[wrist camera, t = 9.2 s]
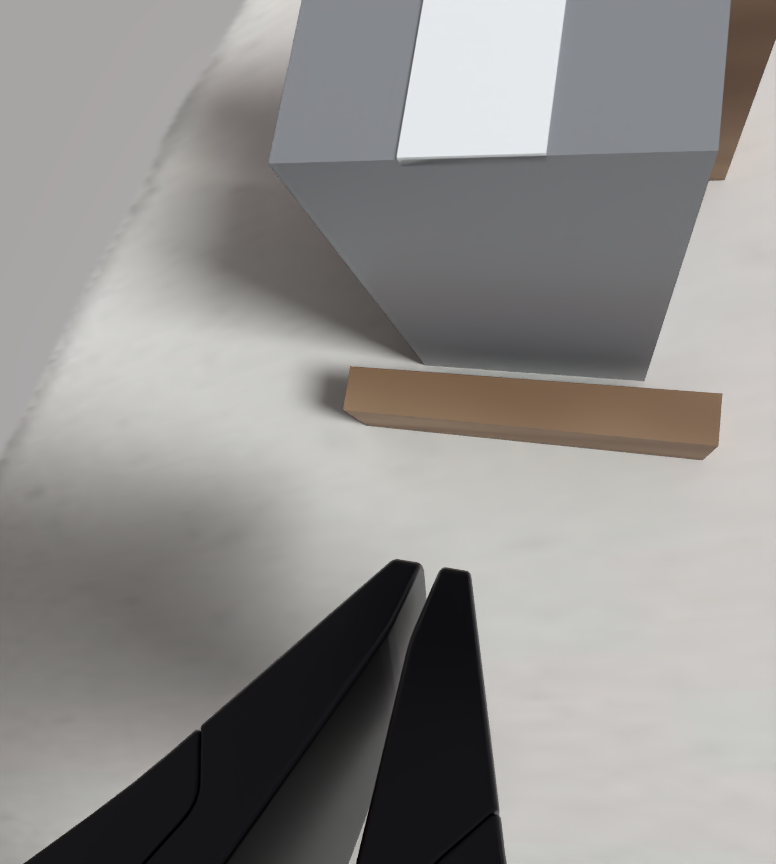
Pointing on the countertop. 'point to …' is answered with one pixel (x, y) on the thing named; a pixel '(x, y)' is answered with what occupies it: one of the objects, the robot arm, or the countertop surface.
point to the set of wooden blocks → (576, 402)
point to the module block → (508, 167)
